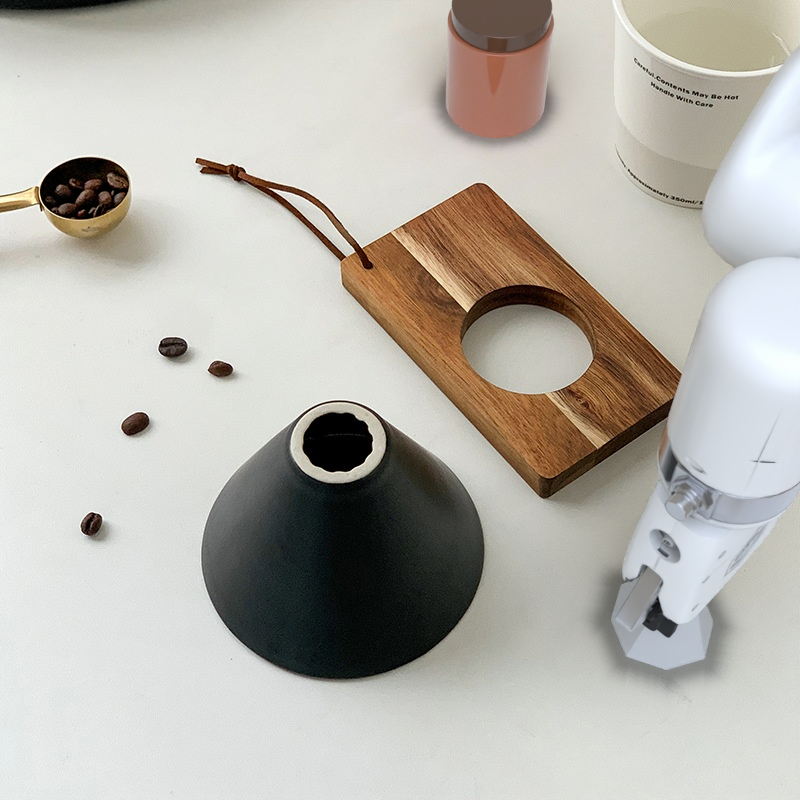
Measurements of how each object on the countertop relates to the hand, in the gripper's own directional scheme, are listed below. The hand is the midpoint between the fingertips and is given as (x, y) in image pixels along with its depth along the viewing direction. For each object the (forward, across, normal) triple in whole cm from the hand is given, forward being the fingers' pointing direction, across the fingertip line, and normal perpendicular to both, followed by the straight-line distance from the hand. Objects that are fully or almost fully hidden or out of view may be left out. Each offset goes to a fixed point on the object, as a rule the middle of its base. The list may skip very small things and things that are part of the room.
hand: (672, 597), depth 77 cm
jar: (+5, +30, +42) cm, 51 cm away
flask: (+5, 0, 0) cm, 5 cm away
